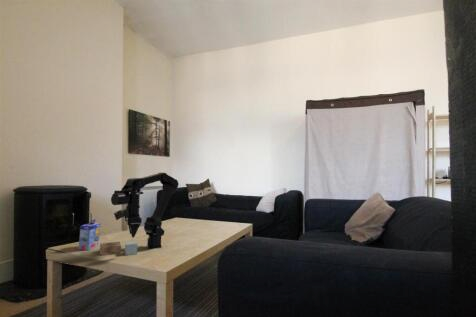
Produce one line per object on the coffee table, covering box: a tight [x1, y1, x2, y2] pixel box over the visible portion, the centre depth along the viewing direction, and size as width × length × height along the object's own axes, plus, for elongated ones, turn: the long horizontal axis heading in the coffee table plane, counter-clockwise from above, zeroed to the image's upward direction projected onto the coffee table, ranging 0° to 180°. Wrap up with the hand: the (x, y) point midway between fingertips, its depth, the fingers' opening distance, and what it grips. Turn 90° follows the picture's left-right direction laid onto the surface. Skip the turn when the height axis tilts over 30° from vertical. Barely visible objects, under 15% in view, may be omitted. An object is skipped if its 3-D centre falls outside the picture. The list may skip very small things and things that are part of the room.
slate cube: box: [124, 241, 138, 256], centre depth 126 cm, size 5×5×5 cm
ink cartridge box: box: [78, 219, 101, 251], centre depth 136 cm, size 10×6×14 cm, turn 178°
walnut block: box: [99, 241, 122, 256], centre depth 128 cm, size 9×9×4 cm
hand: (131, 235), depth 127 cm, fingers open, 9 cm apart
